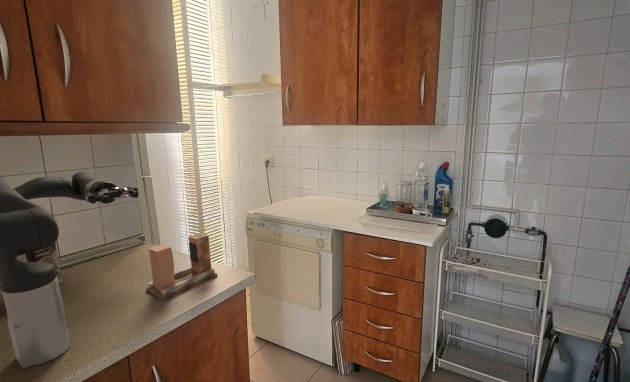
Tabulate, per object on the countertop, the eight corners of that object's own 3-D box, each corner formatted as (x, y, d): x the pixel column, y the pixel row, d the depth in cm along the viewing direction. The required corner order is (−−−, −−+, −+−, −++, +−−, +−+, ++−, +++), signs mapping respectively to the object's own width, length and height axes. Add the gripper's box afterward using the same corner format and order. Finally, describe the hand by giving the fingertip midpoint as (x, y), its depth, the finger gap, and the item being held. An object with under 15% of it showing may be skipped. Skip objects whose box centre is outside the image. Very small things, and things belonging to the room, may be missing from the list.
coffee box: (36, 296, 100) (26, 246, 96) (19, 294, 101) (7, 245, 97) (64, 282, 108) (55, 235, 105) (47, 280, 110) (38, 234, 106)
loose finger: (161, 292, 99) (156, 251, 96) (153, 288, 101) (148, 248, 99) (176, 285, 103) (172, 246, 100) (168, 281, 105) (164, 243, 103)
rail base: (163, 300, 96) (157, 255, 93) (146, 290, 102) (140, 248, 99) (217, 276, 111) (214, 236, 108) (199, 268, 117) (196, 231, 114)
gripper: (124, 197, 120) (146, 204, 110) (79, 206, 109) (99, 214, 99) (121, 177, 118) (143, 182, 109) (75, 183, 107) (95, 189, 97)
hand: (122, 197), depth 104 cm, fingers open, 8 cm apart
